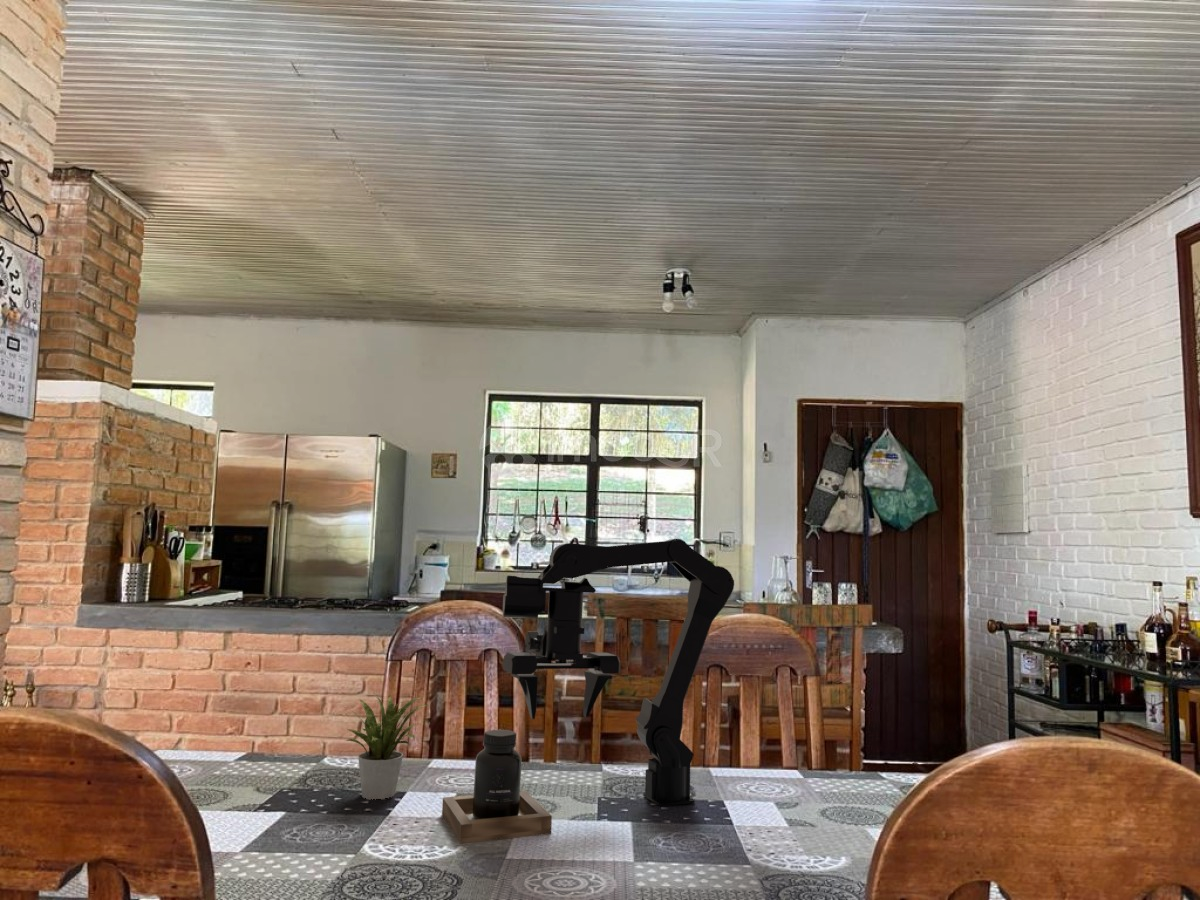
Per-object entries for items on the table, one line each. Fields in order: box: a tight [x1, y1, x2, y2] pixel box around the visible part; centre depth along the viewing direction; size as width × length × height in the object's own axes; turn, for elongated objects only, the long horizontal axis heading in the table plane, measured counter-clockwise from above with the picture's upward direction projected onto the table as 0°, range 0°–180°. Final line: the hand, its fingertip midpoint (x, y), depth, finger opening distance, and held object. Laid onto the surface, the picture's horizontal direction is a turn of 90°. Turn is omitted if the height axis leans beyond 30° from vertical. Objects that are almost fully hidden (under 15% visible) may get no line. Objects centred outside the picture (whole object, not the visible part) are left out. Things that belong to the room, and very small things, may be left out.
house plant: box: [344, 692, 430, 801], centre depth 130 cm, size 14×14×16 cm
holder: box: [441, 790, 553, 844], centre depth 116 cm, size 13×13×2 cm
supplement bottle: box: [472, 729, 522, 820], centre depth 117 cm, size 7×7×12 cm
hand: (559, 717), depth 129 cm, fingers open, 9 cm apart
